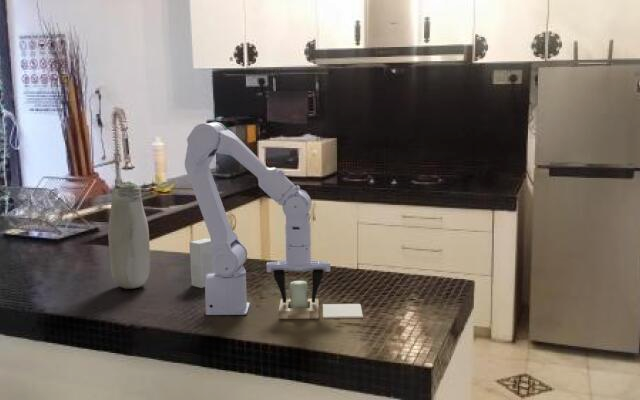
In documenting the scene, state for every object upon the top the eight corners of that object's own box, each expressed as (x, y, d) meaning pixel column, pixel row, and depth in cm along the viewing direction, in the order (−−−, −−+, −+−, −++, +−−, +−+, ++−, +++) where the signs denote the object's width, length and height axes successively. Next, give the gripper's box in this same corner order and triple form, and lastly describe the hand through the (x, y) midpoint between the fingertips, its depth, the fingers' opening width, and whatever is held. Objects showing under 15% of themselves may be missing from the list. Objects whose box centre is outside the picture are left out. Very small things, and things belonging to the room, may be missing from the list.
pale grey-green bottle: (156, 288, 175) (150, 183, 170) (116, 295, 169) (110, 186, 165) (145, 280, 183) (139, 179, 179) (107, 285, 178) (100, 181, 173)
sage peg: (290, 315, 153) (289, 285, 151) (290, 309, 157) (290, 280, 155) (307, 315, 153) (307, 285, 151) (307, 309, 157) (307, 280, 155)
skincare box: (207, 280, 182) (206, 237, 180) (218, 283, 179) (217, 239, 177) (190, 285, 177) (188, 241, 175) (201, 288, 175) (199, 243, 173)
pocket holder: (278, 318, 150) (278, 311, 150) (280, 306, 159) (280, 299, 159) (318, 318, 150) (318, 310, 150) (318, 305, 159) (318, 298, 159)
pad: (323, 318, 150) (323, 316, 150) (322, 305, 159) (322, 304, 159) (362, 317, 150) (362, 316, 150) (360, 305, 159) (360, 303, 159)
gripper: (265, 248, 148) (266, 307, 150) (330, 247, 148) (330, 306, 150) (267, 241, 155) (268, 297, 157) (329, 240, 155) (330, 297, 157)
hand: (299, 301), depth 154 cm, fingers open, 6 cm apart
